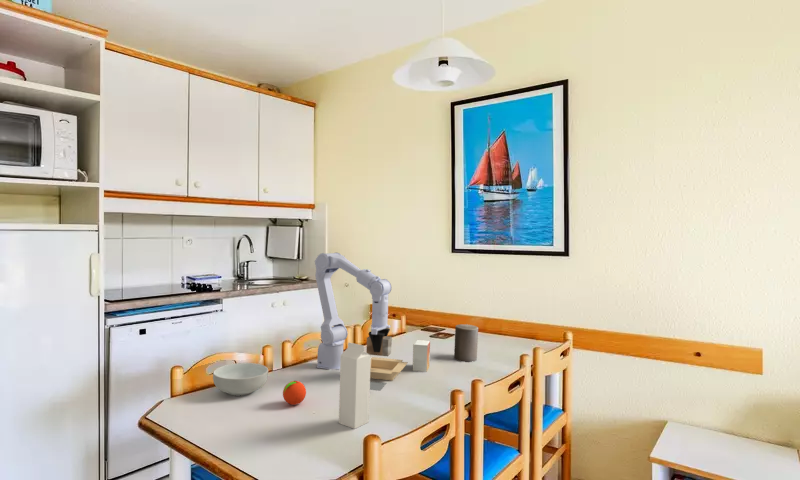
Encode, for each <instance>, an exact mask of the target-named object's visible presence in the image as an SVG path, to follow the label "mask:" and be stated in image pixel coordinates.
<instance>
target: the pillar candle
mask: <svg viewBox="0 0 800 480" xmlns="http://www.w3.org/2000/svg"><path fill="white" fill-rule="evenodd" d="M454 327H455V329H454V349H453V350H454V352H453V353H454V354H453V359H454V360H456V361H458V362H463V363H464V362H465V363H473V362H476V361H477V359H478V344H479V343H478V342H479V341H478V339H479V338H478V337H479V327H478V326H476V325H473V324H468V323H466V324H462V323H461V324H456V325H455V326H454ZM472 361H473V362H472Z"/></svg>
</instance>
